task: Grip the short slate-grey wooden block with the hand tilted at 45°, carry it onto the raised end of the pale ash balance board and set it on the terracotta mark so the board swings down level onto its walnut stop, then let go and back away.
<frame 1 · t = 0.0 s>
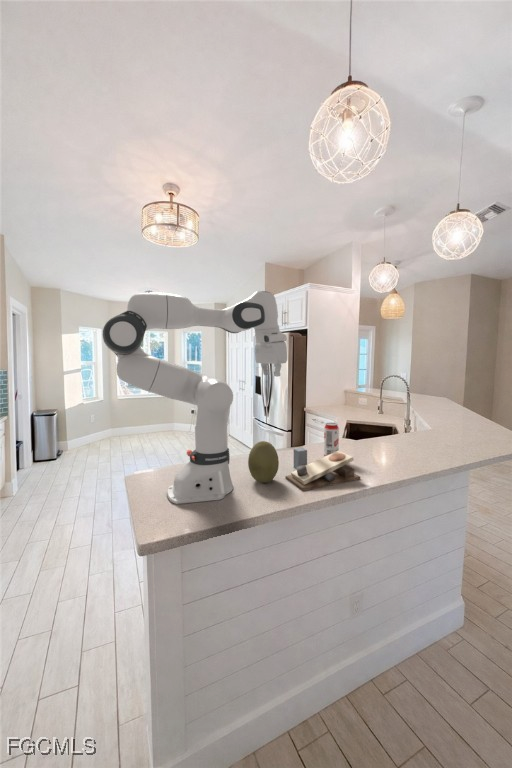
hand: (271, 375, 117), 39 cm above the table, tool pointing down, fingers open, 8 cm apart
beer can: (331, 460, 141), on the table
rocker stand: (322, 478, 119), on the table
balance board: (322, 468, 119), point 4 cm above the table, tilted 15°, touching rocker stand
fruit: (263, 481, 118), on the table
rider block: (300, 468, 130), on the table
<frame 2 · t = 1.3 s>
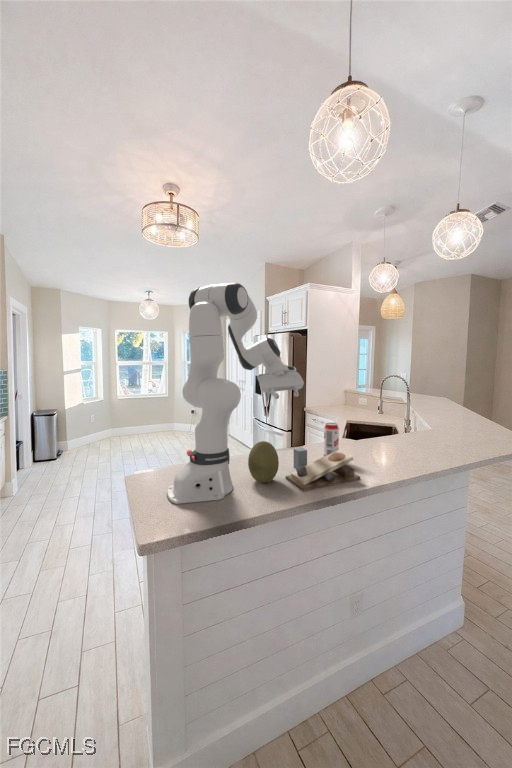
hand: (287, 397, 139), 28 cm above the table, tool tilted 45°, fingers open, 8 cm apart
nothing on the table moved.
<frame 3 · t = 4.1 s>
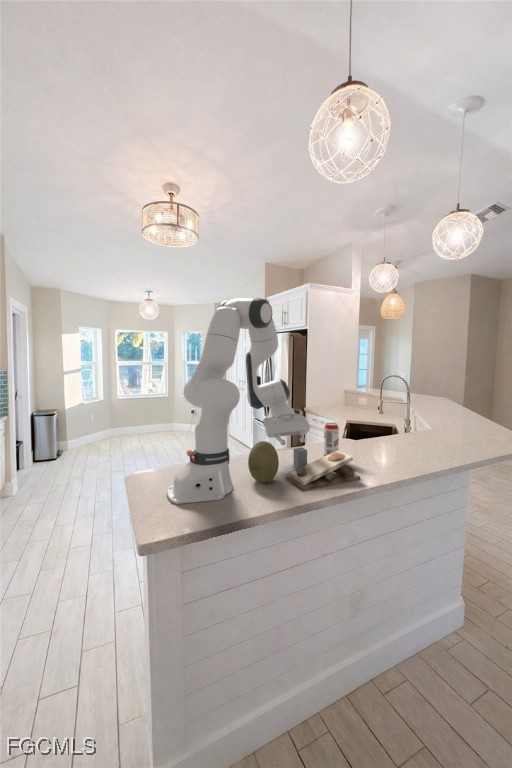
hand: (293, 443, 135), 9 cm above the table, tool tilted 45°, fingers open, 8 cm apart
nothing on the table moved.
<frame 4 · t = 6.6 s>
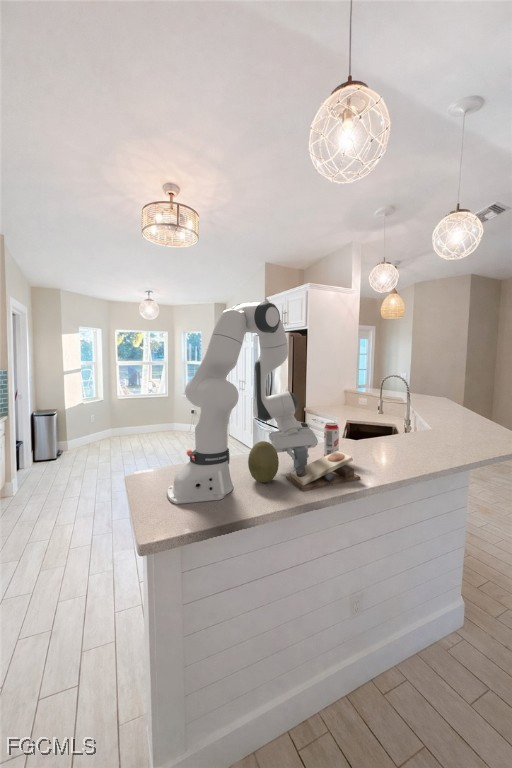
hand: (301, 458, 129), 4 cm above the table, tool tilted 45°, fingers closed on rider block, 4 cm apart
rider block: (300, 468, 130), on the table, touching gripper
everything else where it was.
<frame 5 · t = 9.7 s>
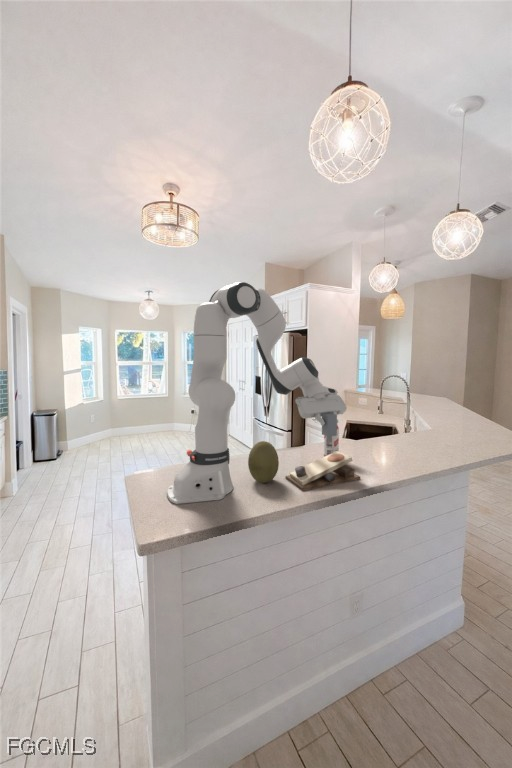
hand: (330, 423, 122), 20 cm above the table, tool tilted 45°, fingers closed on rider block, 4 cm apart
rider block: (329, 434, 123), point 15 cm above the table, touching gripper
everything else where it was.
when the fingers open (11 cm above the table, at t = 12.8 s): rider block stays where it is, resting on balance board.
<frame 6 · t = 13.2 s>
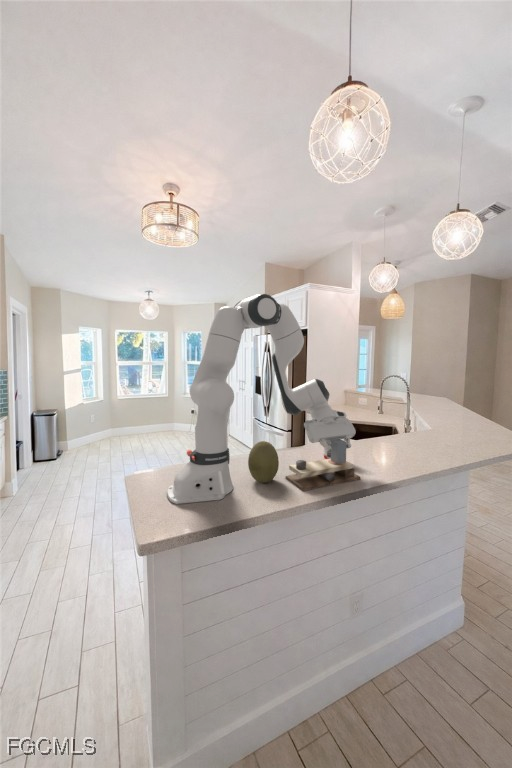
hand: (339, 449, 120), 11 cm above the table, tool tilted 45°, fingers open, 8 cm apart
balance board: (321, 468, 119), point 4 cm above the table, touching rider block, rocker stand
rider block: (338, 461, 121), point 6 cm above the table, touching balance board
everything else where it was.
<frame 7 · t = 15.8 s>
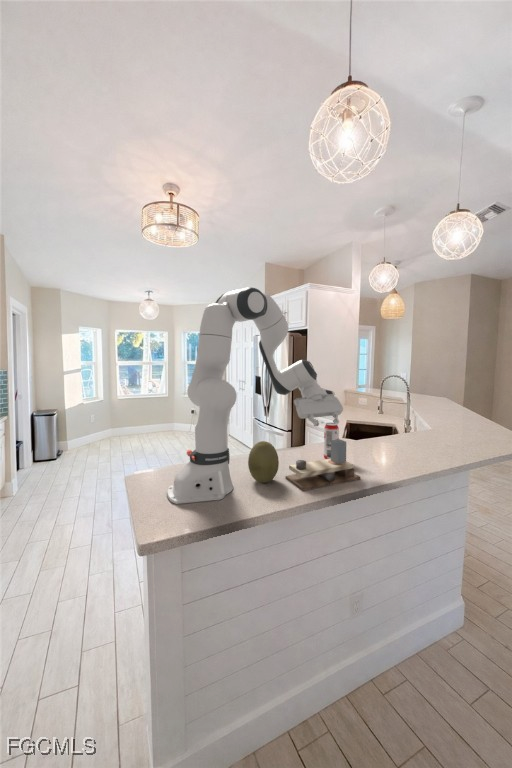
hand: (327, 424, 127), 19 cm above the table, tool tilted 45°, fingers open, 8 cm apart
nothing on the table moved.
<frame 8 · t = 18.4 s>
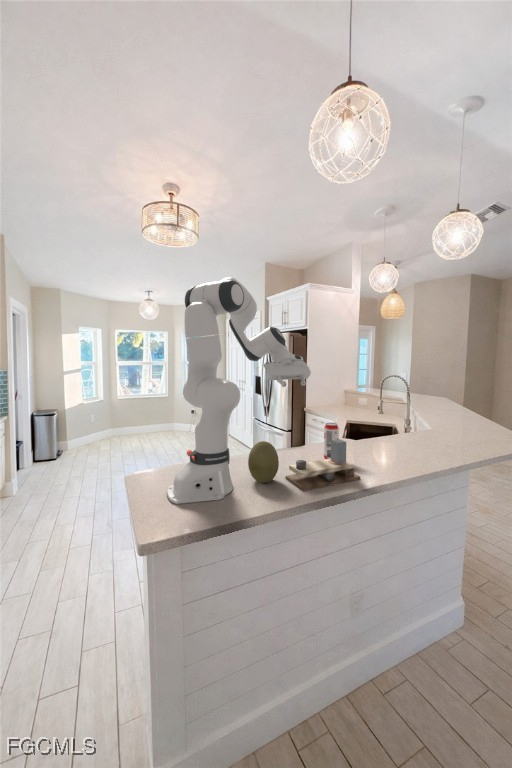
hand: (294, 385, 136), 33 cm above the table, tool tilted 45°, fingers open, 8 cm apart
nothing on the table moved.
at the end: balance board tilted 0°; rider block inside the target area on the balance board (0.8 cm from its centre), point 1.6 cm above the balance board's base; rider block tilted 0° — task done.
